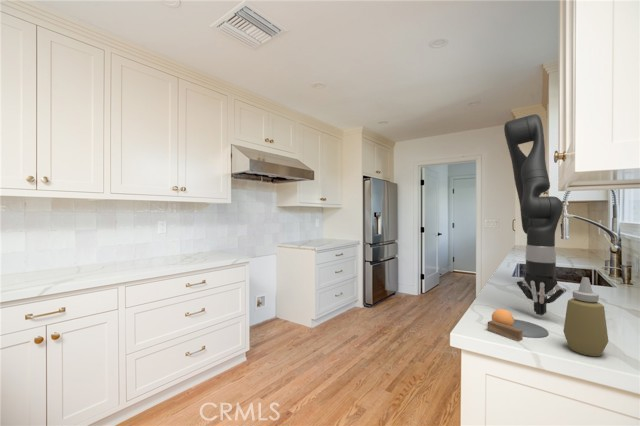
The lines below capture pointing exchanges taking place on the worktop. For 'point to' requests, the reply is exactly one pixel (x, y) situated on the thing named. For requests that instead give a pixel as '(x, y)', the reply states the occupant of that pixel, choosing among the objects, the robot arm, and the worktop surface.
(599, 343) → the squeeze bottle
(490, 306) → the worktop surface
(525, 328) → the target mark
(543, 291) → the robot arm
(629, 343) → the worktop surface
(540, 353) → the worktop surface
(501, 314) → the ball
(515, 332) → the strip
